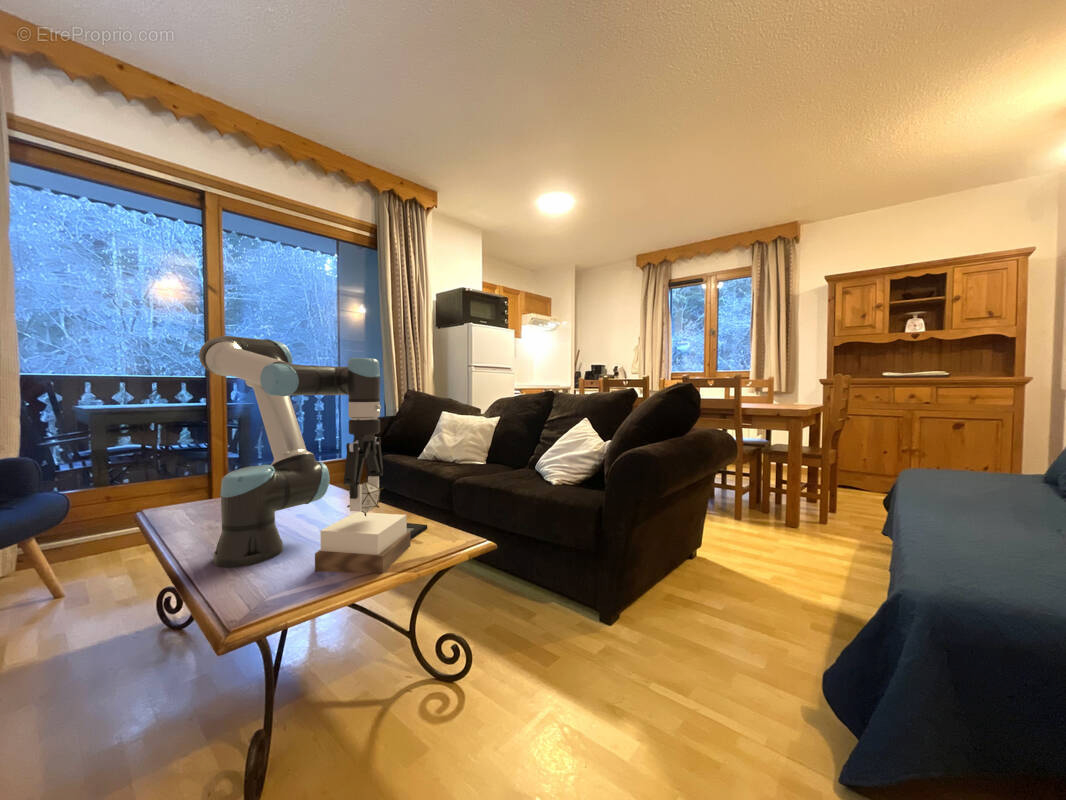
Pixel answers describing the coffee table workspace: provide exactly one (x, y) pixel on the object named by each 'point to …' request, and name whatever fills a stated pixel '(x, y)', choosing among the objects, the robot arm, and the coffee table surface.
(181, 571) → the coffee table surface
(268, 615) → the coffee table surface
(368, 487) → the game die
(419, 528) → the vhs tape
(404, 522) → the cream slab
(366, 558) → the walnut slab
